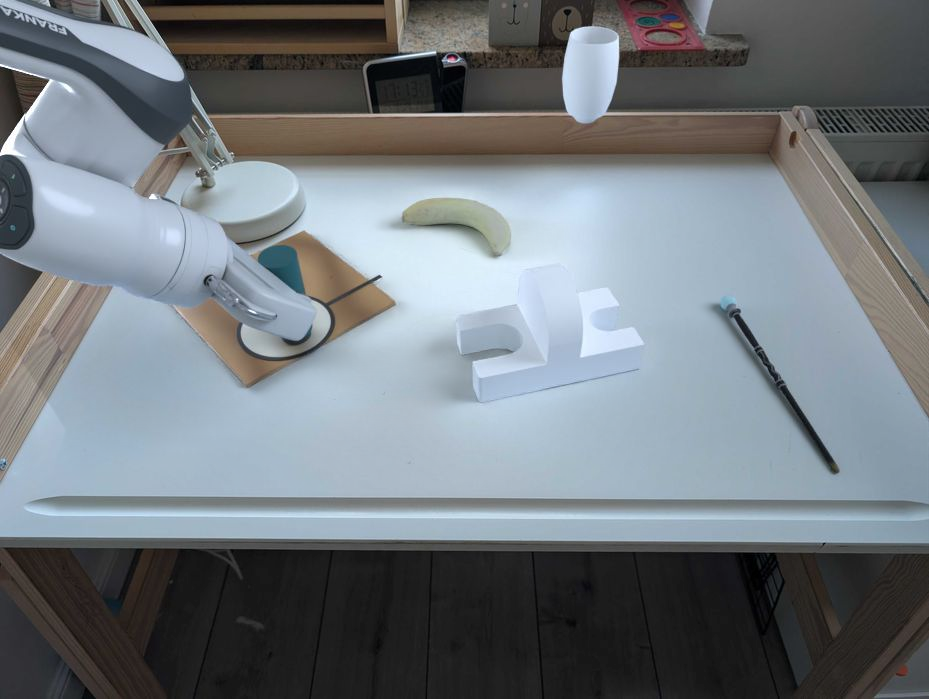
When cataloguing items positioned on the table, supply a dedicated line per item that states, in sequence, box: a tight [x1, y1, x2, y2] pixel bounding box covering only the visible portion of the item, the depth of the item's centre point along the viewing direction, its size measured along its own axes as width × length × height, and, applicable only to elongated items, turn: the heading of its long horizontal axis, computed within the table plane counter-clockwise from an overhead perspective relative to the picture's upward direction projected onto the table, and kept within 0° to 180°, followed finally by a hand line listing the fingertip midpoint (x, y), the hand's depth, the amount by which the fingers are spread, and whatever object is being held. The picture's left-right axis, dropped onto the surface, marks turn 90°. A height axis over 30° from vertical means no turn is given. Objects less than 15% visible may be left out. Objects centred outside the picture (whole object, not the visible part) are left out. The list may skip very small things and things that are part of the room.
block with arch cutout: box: [455, 263, 646, 403], centre depth 75 cm, size 18×10×11 cm, turn 105°
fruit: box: [401, 197, 512, 257], centre depth 95 cm, size 7×15×3 cm, turn 61°
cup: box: [561, 25, 620, 124], centre depth 98 cm, size 7×7×21 cm
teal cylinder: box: [258, 244, 313, 345], centre depth 77 cm, size 4×4×11 cm
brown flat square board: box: [170, 230, 396, 389], centre depth 86 cm, size 22×21×1 cm
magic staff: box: [719, 294, 840, 474], centre depth 76 cm, size 2×25×2 cm
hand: (291, 292), depth 77 cm, fingers closed on teal cylinder, 4 cm apart
